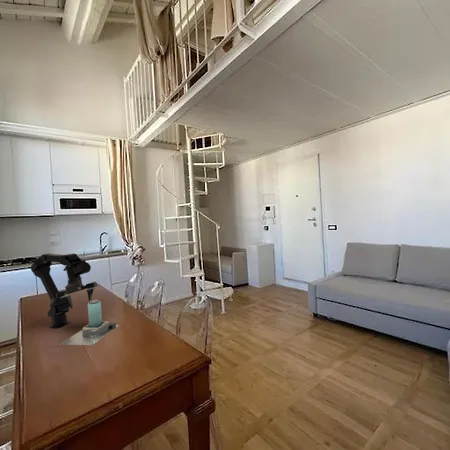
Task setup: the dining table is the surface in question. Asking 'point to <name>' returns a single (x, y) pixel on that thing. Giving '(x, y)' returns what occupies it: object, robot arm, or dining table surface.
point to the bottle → (94, 314)
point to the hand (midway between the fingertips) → (81, 305)
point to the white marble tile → (90, 334)
